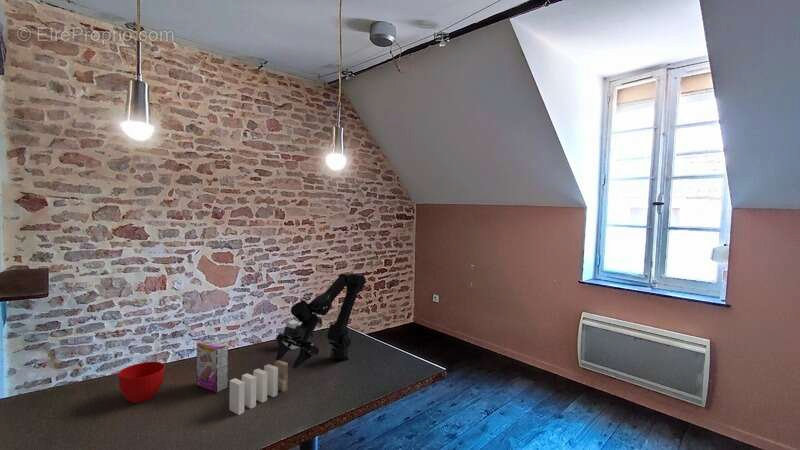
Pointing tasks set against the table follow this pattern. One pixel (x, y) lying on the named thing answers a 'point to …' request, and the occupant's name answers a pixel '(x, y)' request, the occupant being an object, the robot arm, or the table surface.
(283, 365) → the domino
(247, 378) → the domino
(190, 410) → the table surface
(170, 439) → the table surface
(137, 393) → the red bowl
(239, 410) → the domino
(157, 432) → the table surface
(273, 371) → the domino
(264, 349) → the table surface
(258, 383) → the domino
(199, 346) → the candy bar box
